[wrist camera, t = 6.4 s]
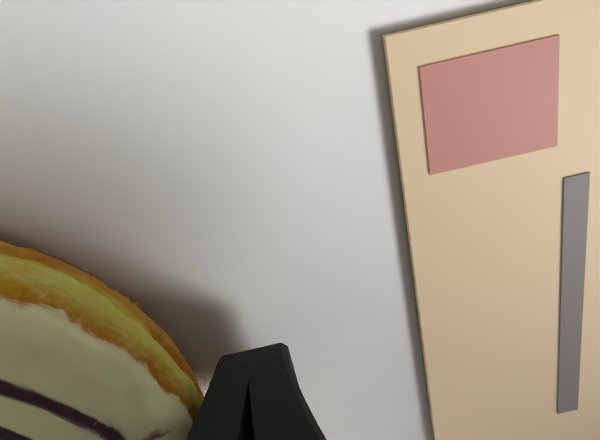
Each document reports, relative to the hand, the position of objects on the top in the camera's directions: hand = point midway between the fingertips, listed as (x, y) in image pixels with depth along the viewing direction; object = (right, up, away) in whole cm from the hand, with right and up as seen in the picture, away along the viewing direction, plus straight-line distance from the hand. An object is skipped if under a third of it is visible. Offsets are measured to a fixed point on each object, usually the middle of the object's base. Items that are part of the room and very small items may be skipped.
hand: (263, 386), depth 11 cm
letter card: (+8, +2, +1) cm, 8 cm away
